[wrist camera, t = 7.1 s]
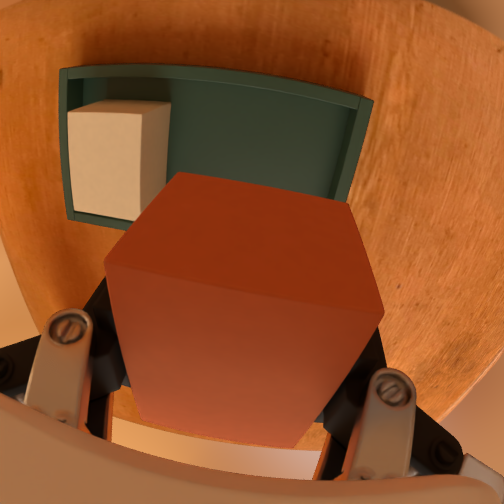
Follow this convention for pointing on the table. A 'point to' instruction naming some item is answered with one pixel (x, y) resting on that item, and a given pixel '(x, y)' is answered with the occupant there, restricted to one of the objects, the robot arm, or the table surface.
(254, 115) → the tray
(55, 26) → the table surface
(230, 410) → the orange-red block
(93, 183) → the cream white rectangular block
